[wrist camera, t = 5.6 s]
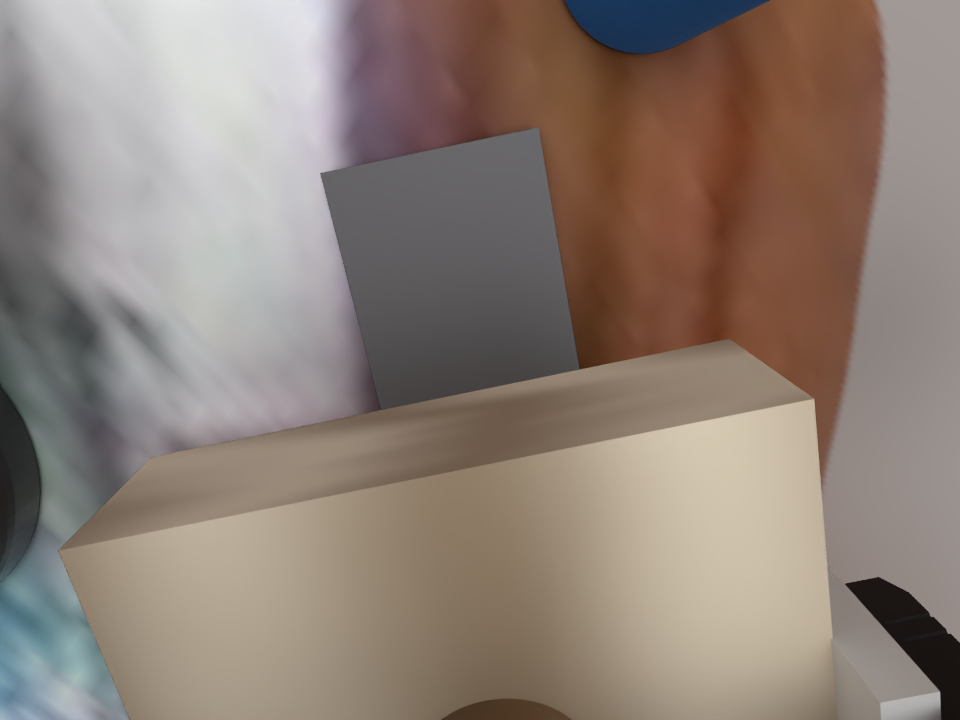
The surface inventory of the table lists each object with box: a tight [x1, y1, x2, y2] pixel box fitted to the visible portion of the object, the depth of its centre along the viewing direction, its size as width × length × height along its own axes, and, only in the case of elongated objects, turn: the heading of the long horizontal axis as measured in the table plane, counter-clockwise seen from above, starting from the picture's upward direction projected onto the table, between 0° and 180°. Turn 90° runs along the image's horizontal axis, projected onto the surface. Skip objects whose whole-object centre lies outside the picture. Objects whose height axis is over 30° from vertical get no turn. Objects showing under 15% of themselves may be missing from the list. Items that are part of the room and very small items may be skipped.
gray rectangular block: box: [320, 127, 580, 410], centre depth 30 cm, size 8×18×2 cm, turn 11°
